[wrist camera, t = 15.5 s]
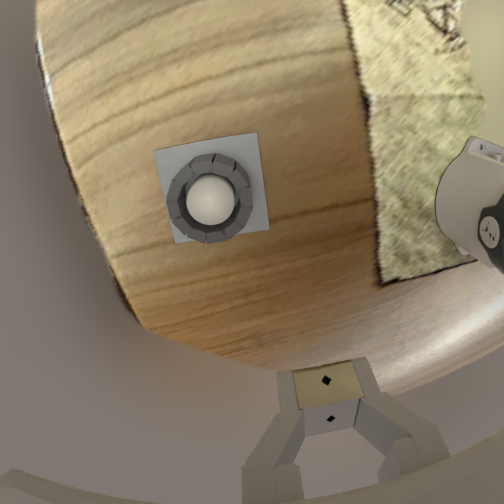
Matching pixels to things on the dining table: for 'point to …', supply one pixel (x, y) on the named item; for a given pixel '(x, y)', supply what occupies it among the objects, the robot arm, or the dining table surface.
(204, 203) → the cap
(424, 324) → the dining table surface
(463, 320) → the dining table surface
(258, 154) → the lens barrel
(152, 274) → the dining table surface
